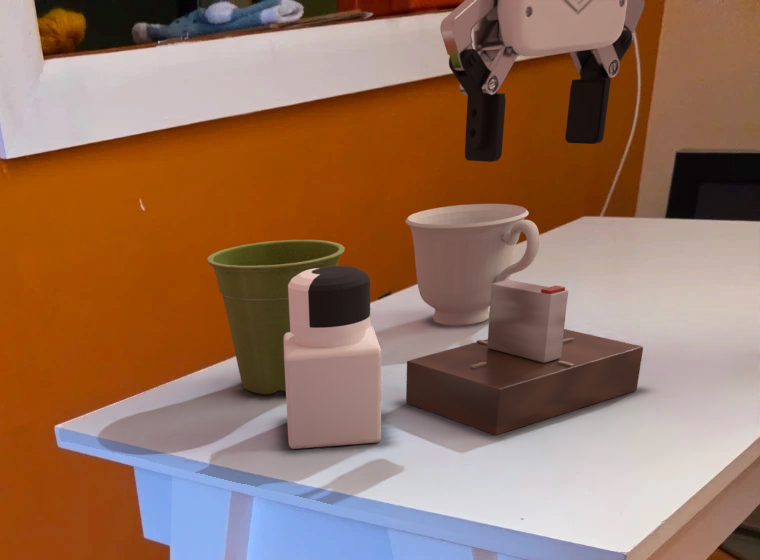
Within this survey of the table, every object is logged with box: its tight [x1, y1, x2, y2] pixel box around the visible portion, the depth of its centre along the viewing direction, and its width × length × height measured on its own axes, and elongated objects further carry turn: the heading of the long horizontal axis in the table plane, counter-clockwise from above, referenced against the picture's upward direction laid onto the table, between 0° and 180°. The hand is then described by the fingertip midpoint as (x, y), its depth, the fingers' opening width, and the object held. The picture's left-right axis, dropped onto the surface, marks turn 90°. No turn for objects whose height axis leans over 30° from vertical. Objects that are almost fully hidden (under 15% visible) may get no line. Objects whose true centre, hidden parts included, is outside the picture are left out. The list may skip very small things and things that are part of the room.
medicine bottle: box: [284, 265, 382, 450], centre depth 73 cm, size 7×7×12 cm
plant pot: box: [206, 239, 346, 395], centre depth 85 cm, size 12×12×11 cm
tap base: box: [405, 328, 644, 436], centre depth 78 cm, size 15×11×4 cm
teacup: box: [404, 203, 541, 326], centre depth 98 cm, size 12×15×10 cm
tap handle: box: [487, 279, 569, 363], centre depth 76 cm, size 6×2×5 cm, turn 29°
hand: (534, 151), depth 70 cm, fingers open, 9 cm apart
